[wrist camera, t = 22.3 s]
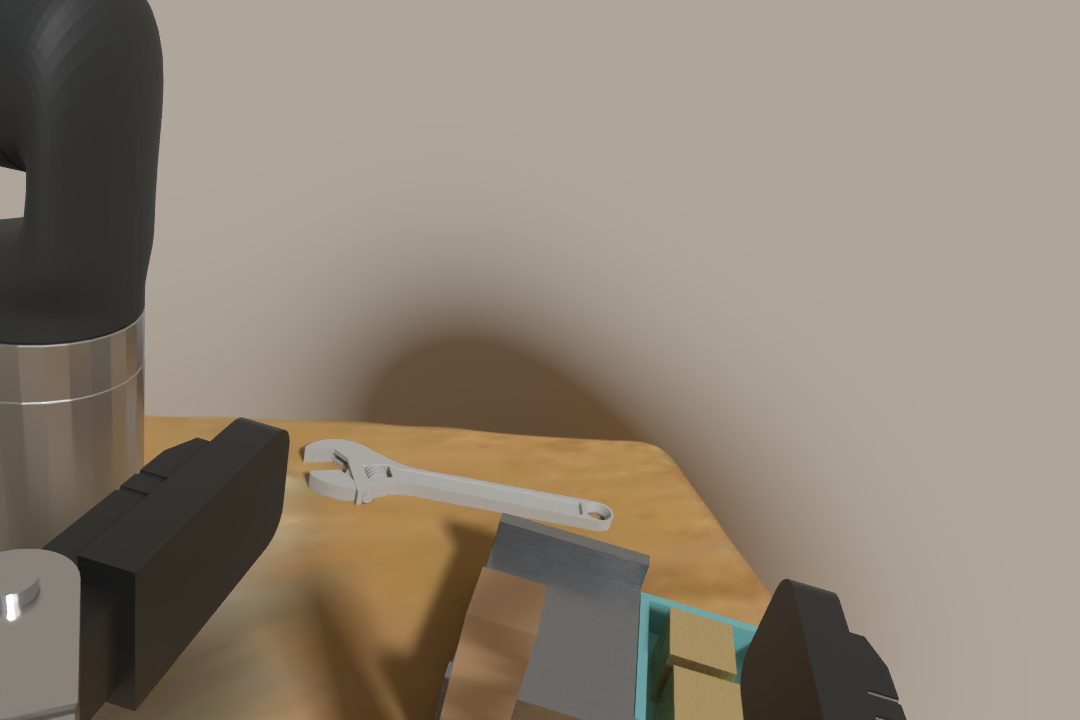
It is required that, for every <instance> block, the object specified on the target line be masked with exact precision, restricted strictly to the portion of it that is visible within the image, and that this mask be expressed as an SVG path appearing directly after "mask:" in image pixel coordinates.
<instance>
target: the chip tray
mask: <svg viewBox="0 0 1080 720" xmlns="http://www.w3.org/2000/svg"><path fill="white" fill-rule="evenodd" d="M670 607H673V608H677V609H680V610H683V611H686V612H690V613H693V614H696V615H699V616H703V617H706V618H709V619H713V620H716V621H719V622H722V623H726V624H729V625H732V628H733V638H734V649H735V659H736V669H737V676H736V678H735V680H734V682H733V683H736V684H739V685H740V681H741V672H742V666H743V662H744V658H745V655H746V652H747V650H748V647H749V645H750V643H751V641H752V639H753V637H754V635H755V633H756V631H757V628H758V627H757V626H754V625H751V624H747V623H744V622H740V621H737V620H734V619H730V618H727V617H724V616H720V615H717V614H714V613H710V612H707V611H704V610H700V609H697V608H694V607H690V606H687V605H684V604H680V603H677V602H673V601H670V600H667V599H663V598H660V597H657V596H653V595H650V594H647V593H643V592H641V593H640V605H639V624H638V644H637V663H636V682H635V701H634V718H636V719H639V720H653V713H654V710H655V708H656V706H657V703H653V702H650V687H651V663H652V651H653V648H654V646H655V643H656V641H657V638H658V636H659V633H660V631H661V629H662V626H663V624H664V621H665V619H666V616H667V614H668V611H669V609H670Z"/></svg>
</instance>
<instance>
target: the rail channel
mask: <svg viewBox="0 0 1080 720" xmlns="http://www.w3.org/2000/svg"><path fill="white" fill-rule="evenodd" d="M649 557H650V556H648V555H645V554H642V553H638V552H635V551H632V550H628V549H625V548H621V547H618V546H615V545H611V544H608V543H605V542H601V541H598V540H594V539H591V538H588V537H584V536H581V535H577V534H574V533H571V532H567V531H564V530H561V529H557V528H554V527H550V526H547V525H544V524H540V523H537V522H533V521H530V520H527V519H523V518H520V517H517V516H513V515H510V514H506V513H502V516H501V519H500V522H499V526H498V530H497V533H496V537H495V541H494V545H493V548H492V551H491V554H490V556H489V559H488V562H487V565H486V568H489V569H493V570H496V571H500V572H503V573H506V574H510V575H513V576H516V577H520V578H523V579H526V580H530V581H533V582H536V583H540V584H543V585H546V586H548V587H547V591H546V596H545V600H544V605H543V609H542V614H541V618H540V623H539V627H538V632H537V636H536V639H535V642H534V645H533V649H532V652H531V655H530V658H529V662H528V665H527V668H526V671H525V675H524V678H523V681H522V684H521V688H520V691H519V694H518V697H517V701H516V704H515V707H514V710H513V714H512V717H511V720H639V719H636V718H634V701H635V682H636V663H637V644H638V624H639V605H640V589H641V586H642V583H643V581H644V578H645V575H646V573H647V570H648V567H649ZM457 648H458V647H457ZM456 652H457V650H456ZM455 656H456V653H455ZM455 656H454V659H453V661H452V662H449V664H448V667H447V670H446V673H445V676H444V679H443V683H442V687H441V691H440V695H439V699H438V703H437V707H436V712H435V716H434V720H440V716H441V712H442V708H443V704H444V700H445V696H446V692H447V688H448V684H449V680H450V676H451V672H452V668H453V664H454V660H455Z"/></svg>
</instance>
